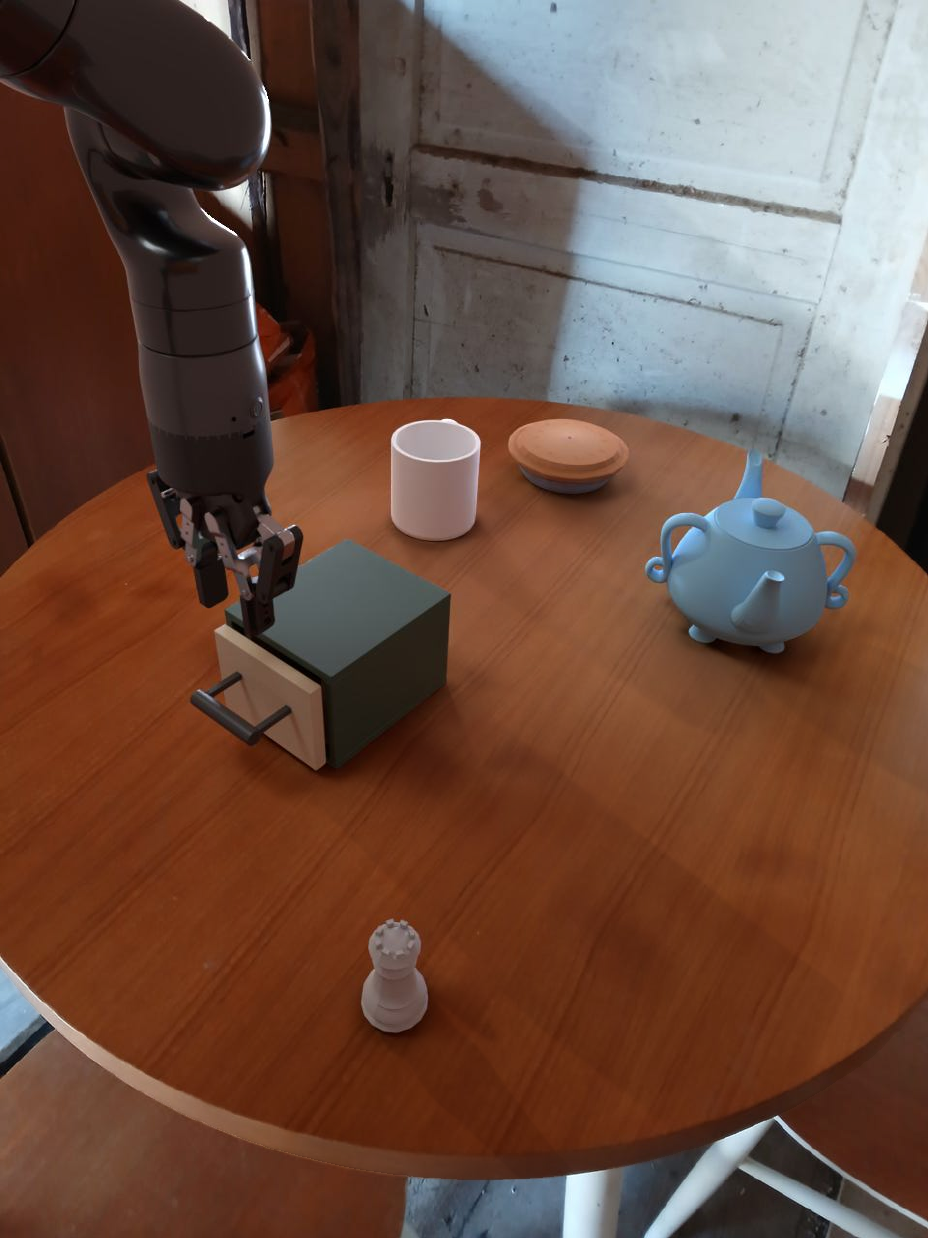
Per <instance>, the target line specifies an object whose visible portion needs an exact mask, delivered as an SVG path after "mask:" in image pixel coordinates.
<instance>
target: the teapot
mask: <svg viewBox="0 0 928 1238" xmlns="http://www.w3.org/2000/svg"><path fill="white" fill-rule="evenodd" d="M763 469H764V460H763V456H762V454H761V452H760V451H759V450H758V449H755V448H752V449H750V450H749V451H748V453H747V457H746V465H745V471H744V474H743V477H742V480H741V483H740V485H739V487H738V489H737V492H736V493H735V494H734V495H735V496H734V497H733V499H731V500H728V501H725V502H723V503H721V504H720V505H718V506H717V507H715V508H714V509H712V510H711V511H710V512H708V513H707V514H706V515H705V516H702V515H700V514H697V513H694V512H682V513H677V514H674V515H673V516H670V517H669V518H668V519H667V520H666V521H665V522H664V524H663V526H662V528H661V532H660V541H659V542H660V552H661V557H659V556H654V557H651V558H650V559H649V560H648V561H647V562H646V564H645V567H644V573H645V575H646V577H647V578H648V579H649V580H650V581H652V582H653V583H655V584H664V583H666V587H667V592H668V594H669V597H670V598H671V600H672V602H673V603H674V605H675V606H676V608H677V609H678V610H679V611H680V613H681V614H682V615H683V616H684V618H686V620H687V621H688V622H690V623H691V624H692V625H691V626H690V628H689V629H688V634H689V637H691V638H692V639H693V640H695V641H696V642H698V643H705V644H709V643H713V642H714V641H716V639H719V640H722V641H725V642H728V643H732V644H737V645H742V646H751V647H752V646H753V647H758V648H759V649H761V650H763V651H764V652H766V653H771V654H779V653H782V652H783V651H784V650H785V643H784V642H788V641H791V640H793V639H796V638H798V637H800V636H803V635H804V634H806V633H807V632H809V631H811V629H812V628H813V627H815V626H816V625H817V624H818V623H819V621H820V619H821V618H822V615H823V613H824V610H825V609H828V610H838V609H841V608H844V607H845V606H846V605H847V603H848V602H849V598H850V593H849V590H848V588H847V587H846V586H844V585H841V583H842V582H843V581H844V580H845V579H846V577H848V575H849V573H850V572H851V570H852V569H853V567H854V565H855V562H856V559H857V551H856V547H855V544H854V543H853V542H852V541H851V540H850V539H849V537H846V536H845V535H844V534H841V533H840V532H835V531H818V532H817V533H816V532H815V530H814V528H813V526H812V525H811V523H810V522H809V520H807V518H806V517H804V516H803V514H801V513H800V512H798V511H796V510H795V509H793V508H792V507H790V506H787V505H785V504H783V503H782V502H781V501H778V500H776V499H774V498H768V497H763V472H764V471H763ZM679 527H691V528H690V529H689V530H688V531H687V532H686V533H685V535H684V536H682V539H681V540H680V541H679V543H678V544H677V546H676V548H675V549H674V551H673V552H672V545H671V539H672V538H671V537H672V533H673V531H674V530H675V529H677V528H679ZM821 546H834V547H837V548H840V549H842V550H843V551H844V555H843V558H842V560H841V561H840V563H839V564H838V566H837V567H836V568H835V570H834V571H833V572H832V574H831V575H830V576H829V577H828V571H827V565H826V561H825V558H824V557H825V556H824V554H823V551H822V549H821ZM656 566H660V567H662V569H661V570H658V569H656V568H655V567H656ZM832 594H835V595H836V596H832ZM837 595H838V596H837Z"/></svg>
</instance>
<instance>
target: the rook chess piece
mask: <svg viewBox="0 0 928 1238" xmlns="http://www.w3.org/2000/svg"><path fill="white" fill-rule="evenodd" d="M421 948H422V941H421V938H420V935H419V933H418V932H417V931H416V930H415V929H414V927H412V926H411V925H409V922H408V921H407V920H404V919H400V921H399V922H396V921H395V920H394V918H390V919H387V920H385V923H384V924H382V925H380V924H379V925H378V927H376V929H375V930H374V931H373V932H372V934H371V936H370V937H369V941H368V948H367V949H368V952H369V955H370V959H372V960H371V962H372V964H373V969H372V970H371V971H370V973H369V975H368V976H367V977H366V979H365V981H364V983H363V986H362V993H361V1001H360V1005H361V1008H362V1012H363V1015H364V1017H365V1018H366V1020H367V1021H368V1022H369V1023H370V1025H371V1026H373V1027H375V1028H377V1029H379V1030H380V1031H382V1032H386V1033H401V1032H404V1031H407V1030H410V1029H412V1028H413V1027H415V1026H416V1025H417V1024H419V1022H420V1021H421V1020H422V1019H423V1016H424V1015H425V1013H426V1011H427V1010H428V1003H429V995H428V987H427V984H426V981H425V978H424V976H423V975H422V974H421V972H420V971H419V970H418V969H417V968H416V966H417V963H418V962H417V961H418V957H419V955H420V954H421V950H422V949H421Z"/></svg>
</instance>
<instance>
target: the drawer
mask: <svg viewBox="0 0 928 1238" xmlns="http://www.w3.org/2000/svg"><path fill="white" fill-rule="evenodd" d="M213 633H214V638H215V640H214V641H215V645H216V652H217V657H218V664H219V670H220V677H221V680H220V681H219V682H217V683H216V684H214V685H213V686H211V687H210V688H208V689H206V690H203V689H196V690H195V691H194V692H193V693H192V694H191V695H190V698H189V702H190V704H191V705H192V706H193V707H195V708H196V709H197V710H199V711H200V712H201V713H203V714H204V715H206V716H207V717H208V718H210V719H211V720H212V721H214V722H215V723H216V724H218V725H219V726H221V728H223V729H225V730H226V731H228V732H229V733H230V734H231V735H233V736H234V737H236V738H237V739H239V740H240V741H241V742H242V743H244V744H245V745H247V746H248V747H254V746H256V745H257V744H258V743H259V742H260V740H261V738H262V734H263V735H265V736H267V737H268V738H269V739H271V740H272V741H274V742H275V743H276V744H278V745H280V746H281V747H282V748H284V749H285V750H286V751H288V752H289V753H291V754H292V755H293V756H295V757H296V758H298V759H299V760H300V761H302V762H303V763H304V764H306V765H307V766H309V767H310V768H312V769H313V770H314V771H318V770H319V769H320V768H322V767H323V766H324V765H325V764H327V763H326V754H325V743H326V744H327V745H329V741H328V725H327V709H326V694H325V680H323V679H322V678H320V677H318V676H317V675H315V674H314V673H312V672H311V671H309V670H308V669H306V668H304V667H303V666H301V665H300V664H298V663H297V662H295V661H294V660H292V659H290V658H289V657H287V656H286V655H284V654H283V653H281V652H280V651H278V650H276V649H275V648H273V647H272V646H270V645H269V644H267V643H266V642H264V641H262V640H261V639H259V638H258V637H254V638H253V637H251V636H249V635H248V634H246V633H245V637H244V636H243V635H241V634H240V633H238V632H237V631H235V630H234V629H232V628H230V627H229V626H227V625H226V623H224V624H222V625H221V626H219V627H218V628H216V629H214V630H213ZM221 693H223V695H224V702H225V705H224V704H223V703H221V702H220V701H219V700H217V699H216V698H215V697H217V696H218V695H220V694H221Z"/></svg>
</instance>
